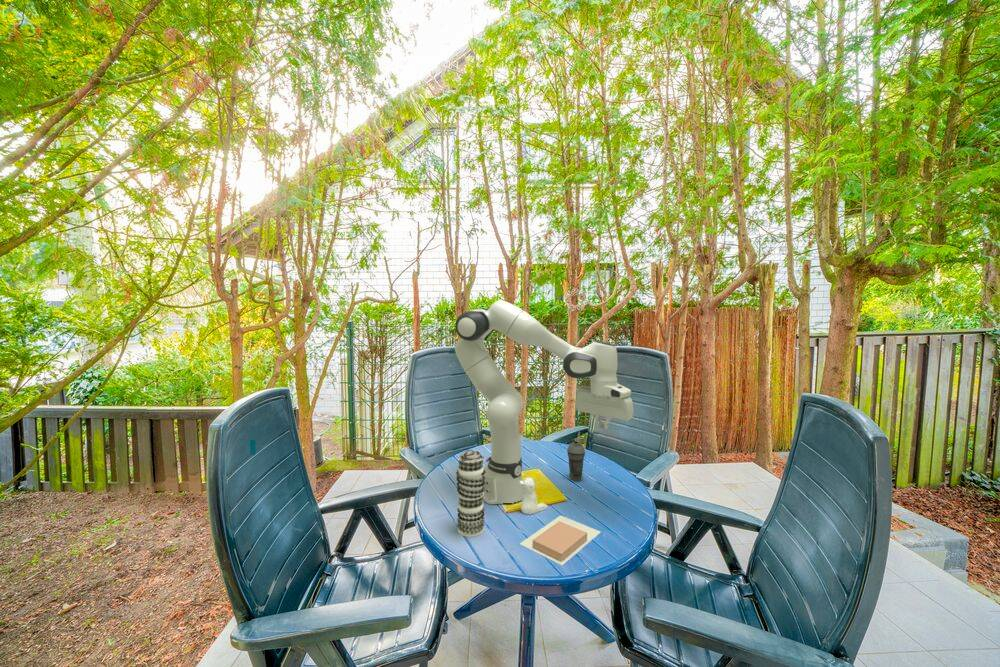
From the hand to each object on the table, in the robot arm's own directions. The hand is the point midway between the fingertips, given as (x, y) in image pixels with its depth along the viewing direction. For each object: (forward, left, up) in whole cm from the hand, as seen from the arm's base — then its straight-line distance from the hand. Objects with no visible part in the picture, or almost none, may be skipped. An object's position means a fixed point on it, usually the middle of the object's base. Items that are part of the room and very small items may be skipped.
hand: (602, 428), depth 139 cm
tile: (+1, -20, -27) cm, 34 cm away
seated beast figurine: (-18, -17, -29) cm, 38 cm away
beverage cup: (-20, +16, -29) cm, 39 cm away
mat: (0, -24, -29) cm, 38 cm away
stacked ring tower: (-25, -39, -29) cm, 55 cm away
